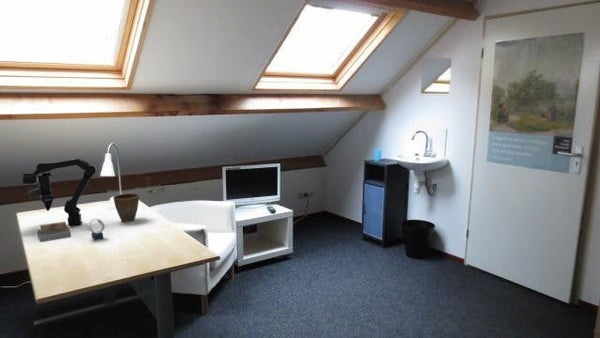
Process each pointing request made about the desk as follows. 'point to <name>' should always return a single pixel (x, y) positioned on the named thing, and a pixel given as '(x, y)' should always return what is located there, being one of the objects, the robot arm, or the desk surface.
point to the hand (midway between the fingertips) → (47, 209)
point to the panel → (53, 227)
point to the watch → (97, 234)
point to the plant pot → (126, 206)
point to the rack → (54, 234)
